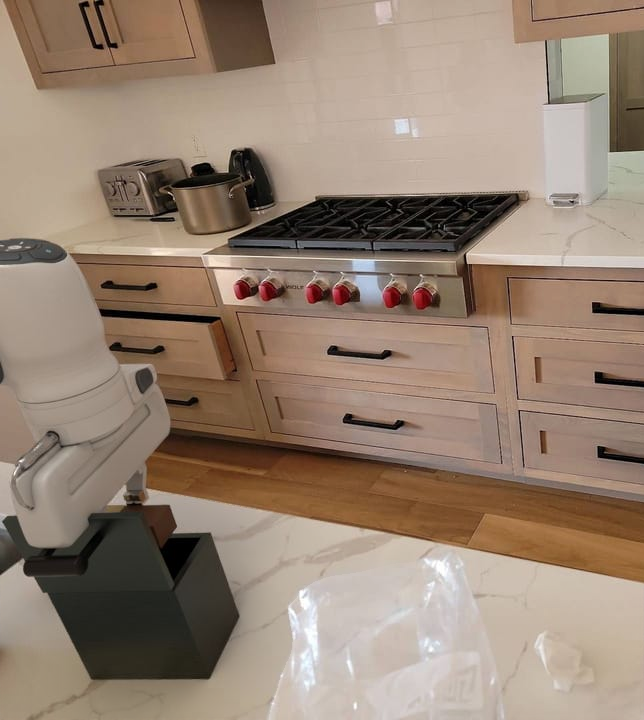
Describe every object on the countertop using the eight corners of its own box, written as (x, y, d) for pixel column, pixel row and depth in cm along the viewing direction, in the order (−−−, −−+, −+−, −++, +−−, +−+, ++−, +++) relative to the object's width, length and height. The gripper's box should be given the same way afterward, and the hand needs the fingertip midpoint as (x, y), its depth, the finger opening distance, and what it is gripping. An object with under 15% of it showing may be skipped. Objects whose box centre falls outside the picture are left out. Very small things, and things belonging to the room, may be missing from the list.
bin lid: (7, 515, 64) (-33, 556, 60) (142, 511, 63) (112, 552, 58) (47, 586, 69) (13, 629, 64) (174, 584, 67) (149, 628, 63)
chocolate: (178, 526, 73) (170, 503, 72) (161, 549, 70) (152, 525, 69) (108, 528, 74) (99, 505, 73) (89, 550, 71) (79, 527, 70)
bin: (132, 617, 82) (95, 535, 76) (239, 616, 80) (210, 532, 75) (90, 679, 74) (46, 593, 69) (209, 679, 73) (174, 590, 67)
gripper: (40, 470, 55) (98, 595, 62) (162, 357, 74) (197, 463, 80) (-31, 472, 56) (33, 596, 62) (107, 360, 74) (146, 464, 80)
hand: (126, 520), depth 71 cm, fingers open, 4 cm apart
